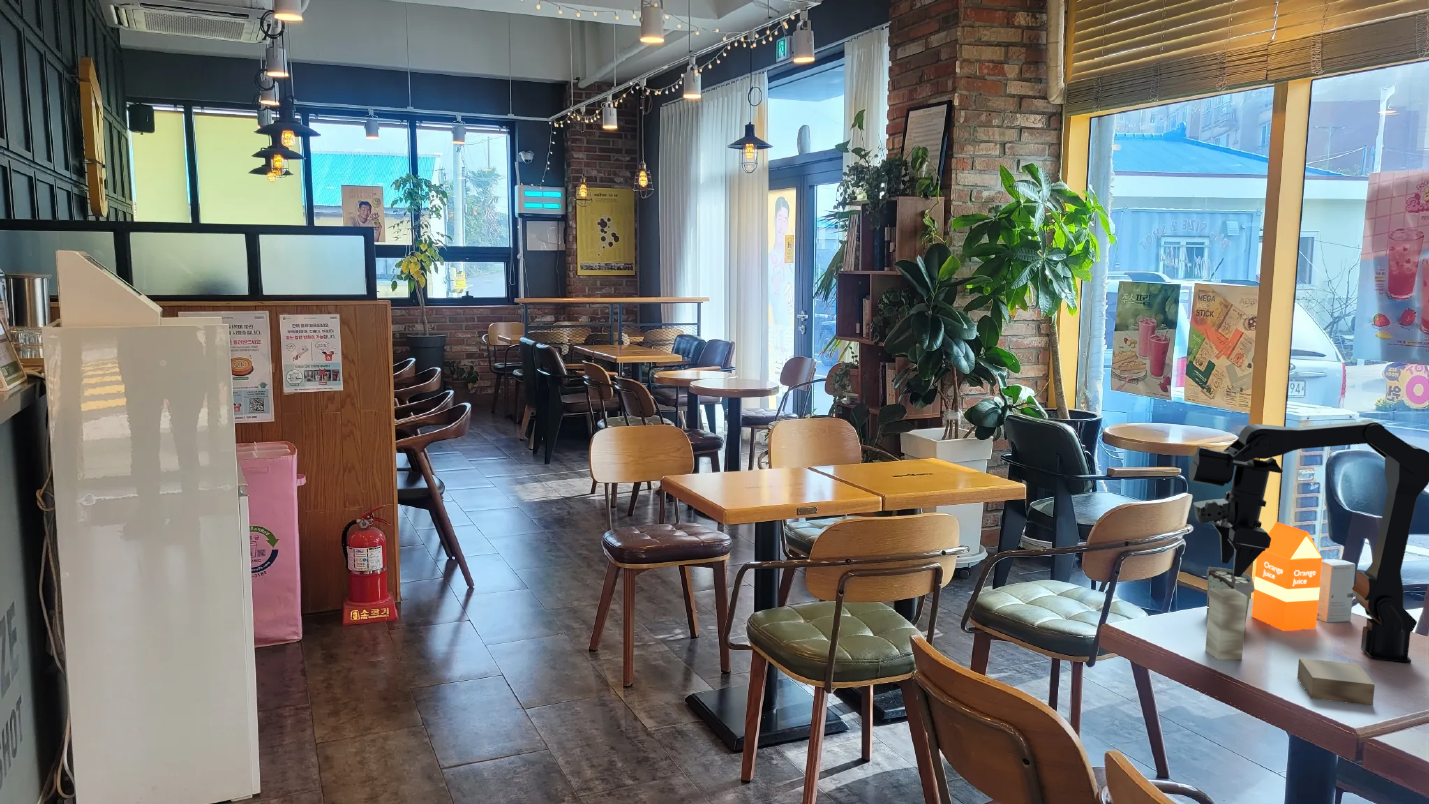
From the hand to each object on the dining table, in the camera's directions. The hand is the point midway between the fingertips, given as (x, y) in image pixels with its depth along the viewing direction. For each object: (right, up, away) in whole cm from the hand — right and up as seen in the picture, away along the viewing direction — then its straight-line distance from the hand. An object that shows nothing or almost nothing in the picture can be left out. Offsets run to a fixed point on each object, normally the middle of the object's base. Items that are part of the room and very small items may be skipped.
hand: (1230, 569), depth 192 cm
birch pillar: (-4, -15, -6) cm, 17 cm away
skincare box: (+29, -13, +15) cm, 35 cm away
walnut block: (+6, -17, -22) cm, 28 cm away
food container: (+7, -13, +12) cm, 19 cm away
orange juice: (+17, -13, +13) cm, 25 cm away
